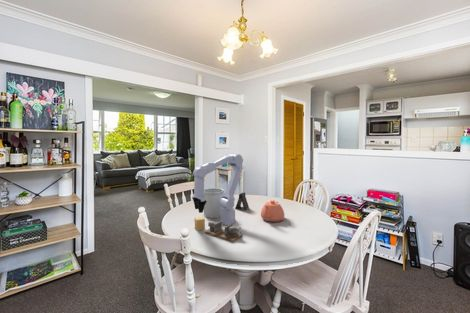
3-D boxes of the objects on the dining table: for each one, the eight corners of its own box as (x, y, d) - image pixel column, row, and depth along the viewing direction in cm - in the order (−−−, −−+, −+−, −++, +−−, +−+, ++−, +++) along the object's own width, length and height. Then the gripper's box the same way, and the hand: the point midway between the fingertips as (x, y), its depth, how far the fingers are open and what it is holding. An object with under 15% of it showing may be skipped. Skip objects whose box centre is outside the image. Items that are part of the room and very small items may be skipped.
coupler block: (202, 226, 140) (202, 217, 140) (204, 228, 137) (204, 219, 136) (194, 227, 138) (194, 218, 138) (196, 230, 135) (196, 220, 134)
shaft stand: (204, 233, 131) (204, 222, 130) (214, 228, 138) (214, 218, 138) (233, 242, 119) (233, 231, 119) (242, 236, 126) (242, 225, 126)
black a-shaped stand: (235, 208, 176) (235, 193, 175) (238, 206, 181) (238, 191, 180) (246, 210, 172) (246, 194, 171) (249, 208, 177) (249, 192, 176)
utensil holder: (214, 219, 153) (214, 193, 151) (198, 215, 162) (198, 190, 160) (228, 213, 164) (228, 189, 163) (212, 209, 173) (212, 186, 172)
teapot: (276, 227, 140) (277, 207, 139) (253, 222, 148) (254, 203, 147) (288, 216, 158) (289, 198, 157) (267, 212, 167) (267, 195, 166)
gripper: (189, 186, 140) (189, 208, 141) (196, 190, 127) (195, 215, 128) (200, 185, 143) (200, 206, 144) (208, 190, 130) (207, 213, 131)
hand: (198, 210), depth 136 cm, fingers open, 7 cm apart
